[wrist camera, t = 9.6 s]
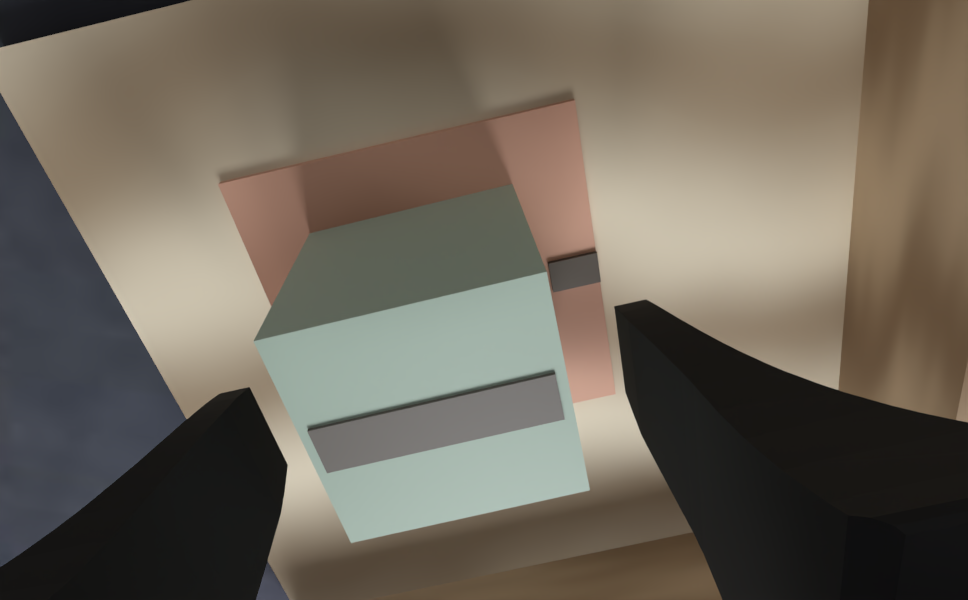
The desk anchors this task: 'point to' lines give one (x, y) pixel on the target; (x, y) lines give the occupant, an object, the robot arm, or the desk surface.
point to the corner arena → (529, 219)
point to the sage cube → (426, 366)
